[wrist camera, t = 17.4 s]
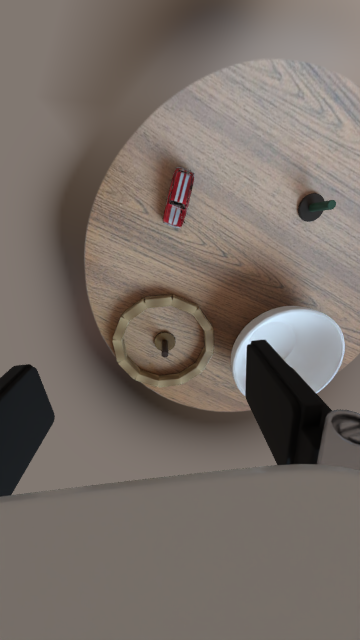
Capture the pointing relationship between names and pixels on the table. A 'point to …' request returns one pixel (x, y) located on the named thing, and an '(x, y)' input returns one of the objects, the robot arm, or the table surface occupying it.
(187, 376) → the ring
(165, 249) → the table surface
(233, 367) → the bowl
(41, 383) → the robot arm
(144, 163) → the table surface
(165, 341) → the walnut peg
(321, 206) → the green peg
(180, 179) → the toy car
